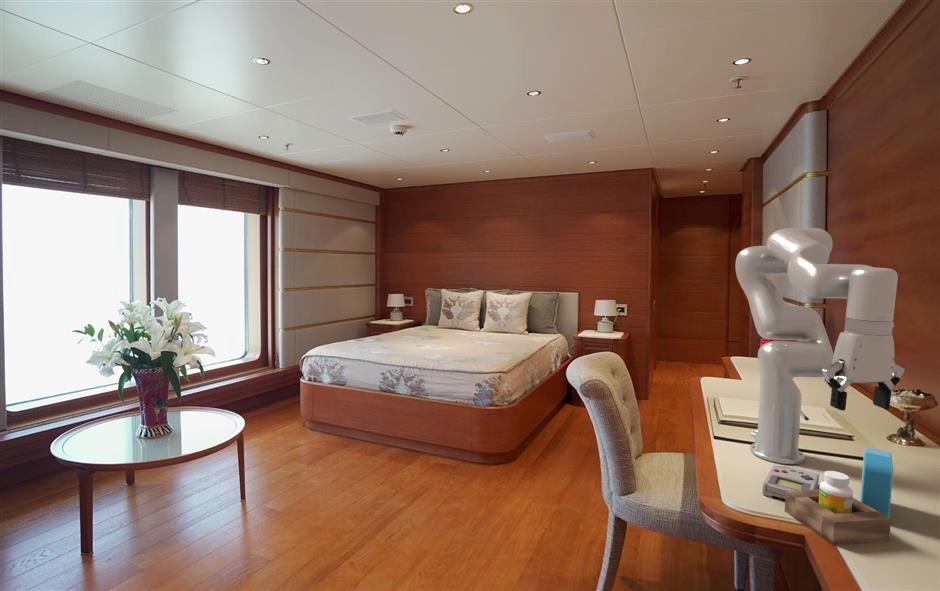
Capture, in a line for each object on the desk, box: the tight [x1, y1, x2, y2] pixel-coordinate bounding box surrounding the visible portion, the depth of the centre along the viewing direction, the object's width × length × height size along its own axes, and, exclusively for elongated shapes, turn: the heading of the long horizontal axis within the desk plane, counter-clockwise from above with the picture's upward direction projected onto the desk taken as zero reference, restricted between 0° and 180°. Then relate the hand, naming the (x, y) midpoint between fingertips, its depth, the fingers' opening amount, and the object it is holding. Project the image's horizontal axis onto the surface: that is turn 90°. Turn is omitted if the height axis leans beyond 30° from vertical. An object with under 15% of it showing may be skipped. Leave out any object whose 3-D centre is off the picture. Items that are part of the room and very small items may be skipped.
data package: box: [860, 446, 894, 518], centre depth 104 cm, size 12×4×12 cm, turn 141°
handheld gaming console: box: [761, 465, 820, 500], centre depth 113 cm, size 9×4×15 cm
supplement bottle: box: [819, 470, 854, 514], centre depth 98 cm, size 5×5×10 cm
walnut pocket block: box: [784, 488, 892, 546], centre depth 98 cm, size 12×12×4 cm
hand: (859, 407), depth 101 cm, fingers open, 9 cm apart
